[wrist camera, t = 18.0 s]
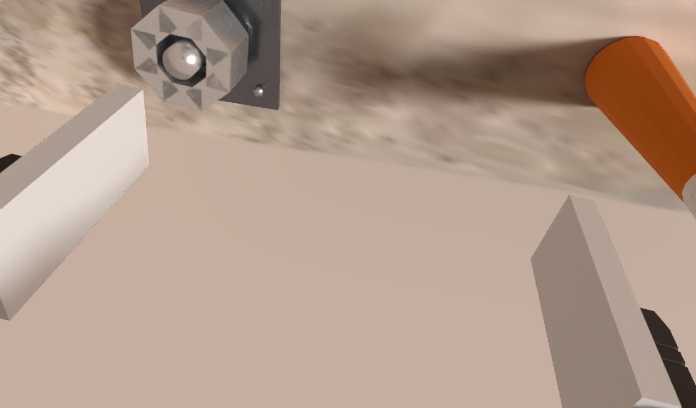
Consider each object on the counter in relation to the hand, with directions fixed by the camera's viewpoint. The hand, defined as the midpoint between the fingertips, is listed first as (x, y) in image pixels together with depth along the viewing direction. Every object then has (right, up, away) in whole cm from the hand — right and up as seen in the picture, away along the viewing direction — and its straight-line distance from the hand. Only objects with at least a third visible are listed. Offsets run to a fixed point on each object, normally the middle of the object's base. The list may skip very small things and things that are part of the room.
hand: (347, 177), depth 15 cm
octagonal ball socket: (-14, +15, +32) cm, 38 cm away
